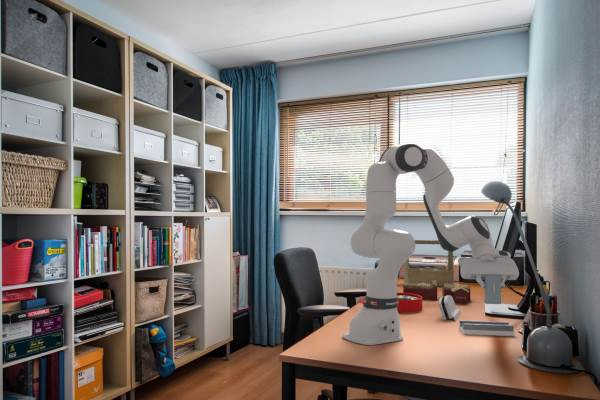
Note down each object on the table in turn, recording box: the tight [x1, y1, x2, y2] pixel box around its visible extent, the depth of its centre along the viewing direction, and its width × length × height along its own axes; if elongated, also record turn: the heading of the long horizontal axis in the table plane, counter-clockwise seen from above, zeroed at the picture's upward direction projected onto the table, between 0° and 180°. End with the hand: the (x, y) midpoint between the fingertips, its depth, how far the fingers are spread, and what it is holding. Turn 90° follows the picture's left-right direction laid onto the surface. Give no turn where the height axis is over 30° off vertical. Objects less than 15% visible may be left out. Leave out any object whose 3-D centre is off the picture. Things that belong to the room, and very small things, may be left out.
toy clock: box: [397, 291, 423, 313], centre depth 210 cm, size 20×6×20 cm
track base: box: [458, 319, 516, 337], centre depth 167 cm, size 18×8×4 cm, turn 84°
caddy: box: [403, 239, 455, 287], centre depth 281 cm, size 29×11×30 cm, turn 87°
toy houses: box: [397, 280, 471, 305], centre depth 233 cm, size 45×20×10 cm, turn 78°
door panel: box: [484, 275, 502, 305], centre depth 159 cm, size 5×3×10 cm, turn 83°
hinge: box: [438, 295, 462, 322], centre depth 193 cm, size 17×5×10 cm, turn 152°
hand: (493, 287), depth 159 cm, fingers closed on door panel, 5 cm apart
